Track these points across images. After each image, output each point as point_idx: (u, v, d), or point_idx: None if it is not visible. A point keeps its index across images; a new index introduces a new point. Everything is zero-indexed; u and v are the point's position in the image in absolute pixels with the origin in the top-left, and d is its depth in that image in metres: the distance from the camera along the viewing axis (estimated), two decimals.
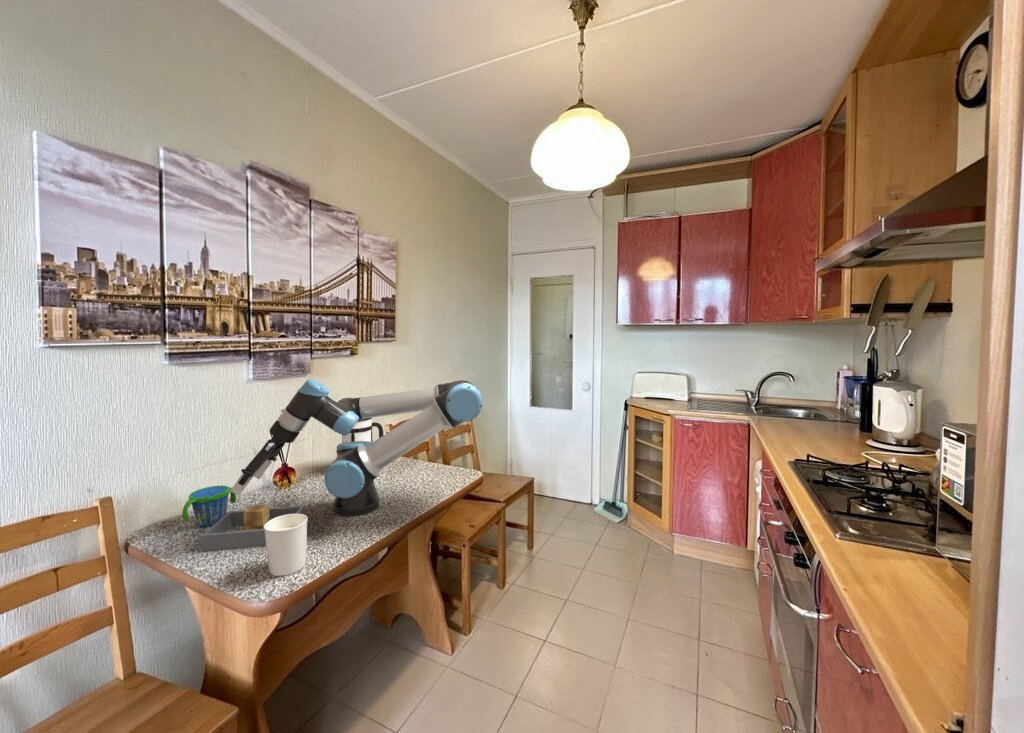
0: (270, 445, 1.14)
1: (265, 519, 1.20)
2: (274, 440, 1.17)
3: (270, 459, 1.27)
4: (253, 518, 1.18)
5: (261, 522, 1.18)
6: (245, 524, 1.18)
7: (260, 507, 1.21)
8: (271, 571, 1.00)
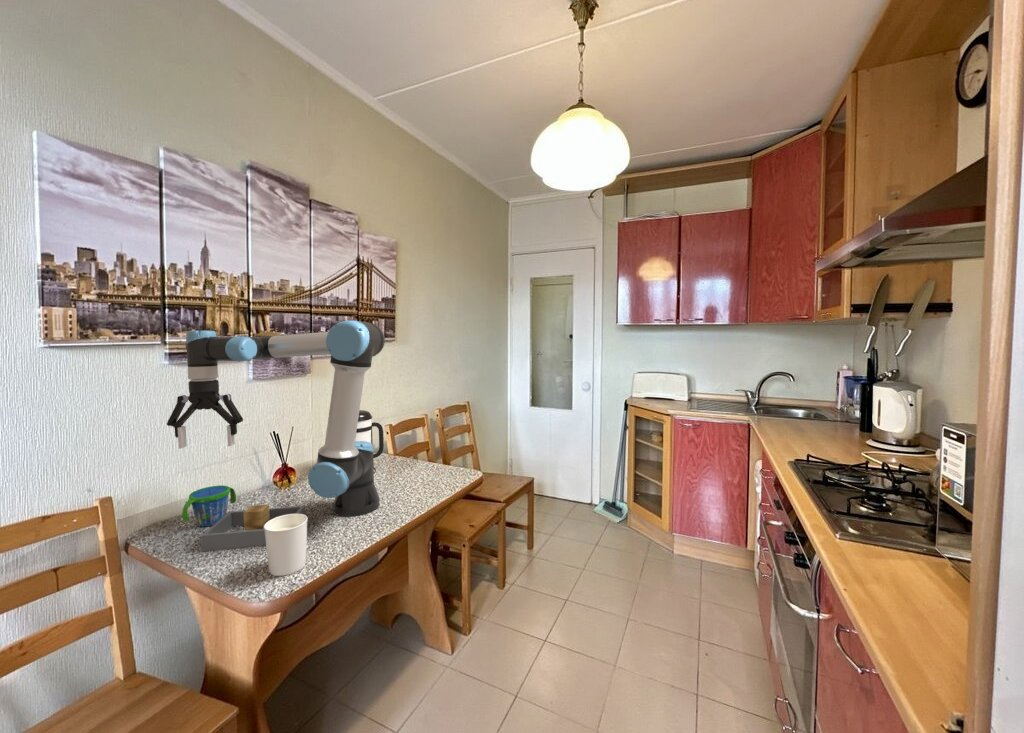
0: None
1: (265, 519, 1.20)
2: None
3: None
4: (252, 518, 1.18)
5: (261, 522, 1.18)
6: (245, 524, 1.18)
7: (260, 507, 1.21)
8: (271, 571, 1.00)
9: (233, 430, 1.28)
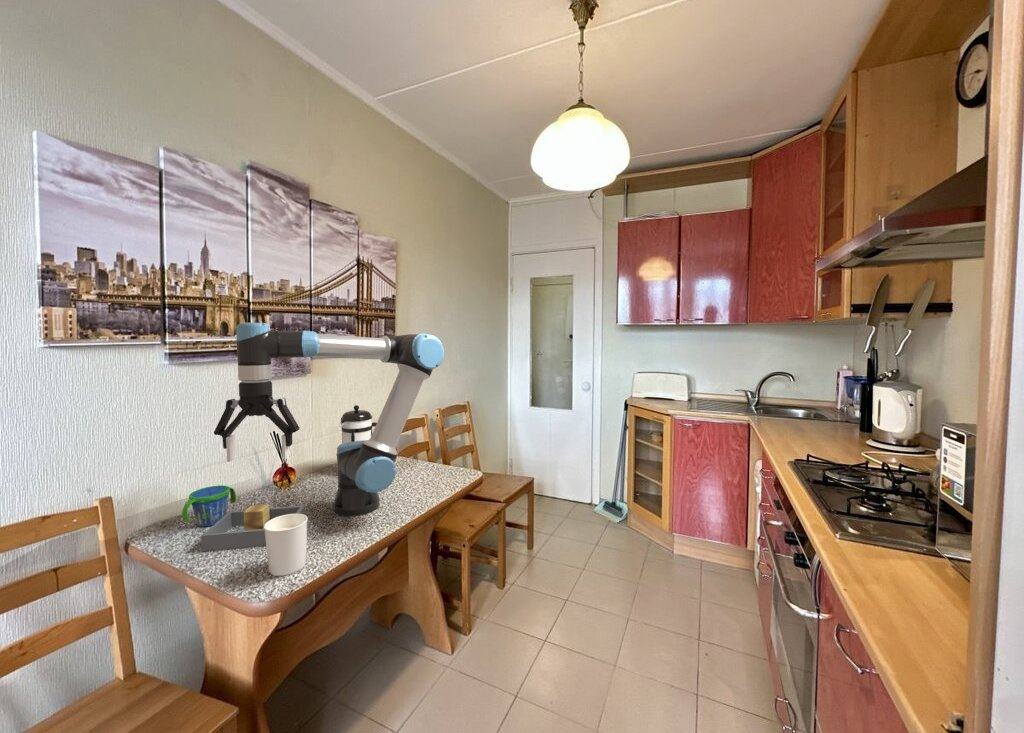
0: None
1: (265, 519, 1.20)
2: None
3: (285, 433, 1.08)
4: (253, 518, 1.18)
5: (261, 522, 1.18)
6: (245, 524, 1.18)
7: (260, 507, 1.21)
8: (271, 571, 1.00)
9: (288, 441, 1.08)
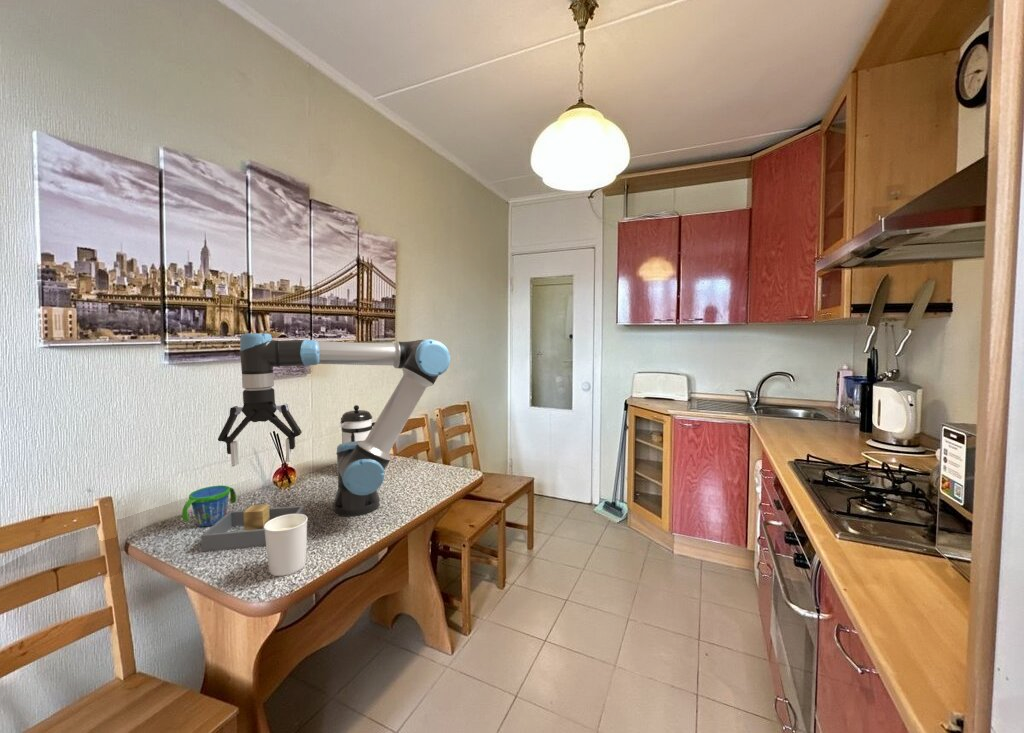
0: None
1: (265, 519, 1.20)
2: None
3: (288, 437, 1.14)
4: (253, 518, 1.18)
5: (261, 522, 1.18)
6: (245, 524, 1.18)
7: (260, 507, 1.21)
8: (271, 571, 1.00)
9: (292, 444, 1.15)
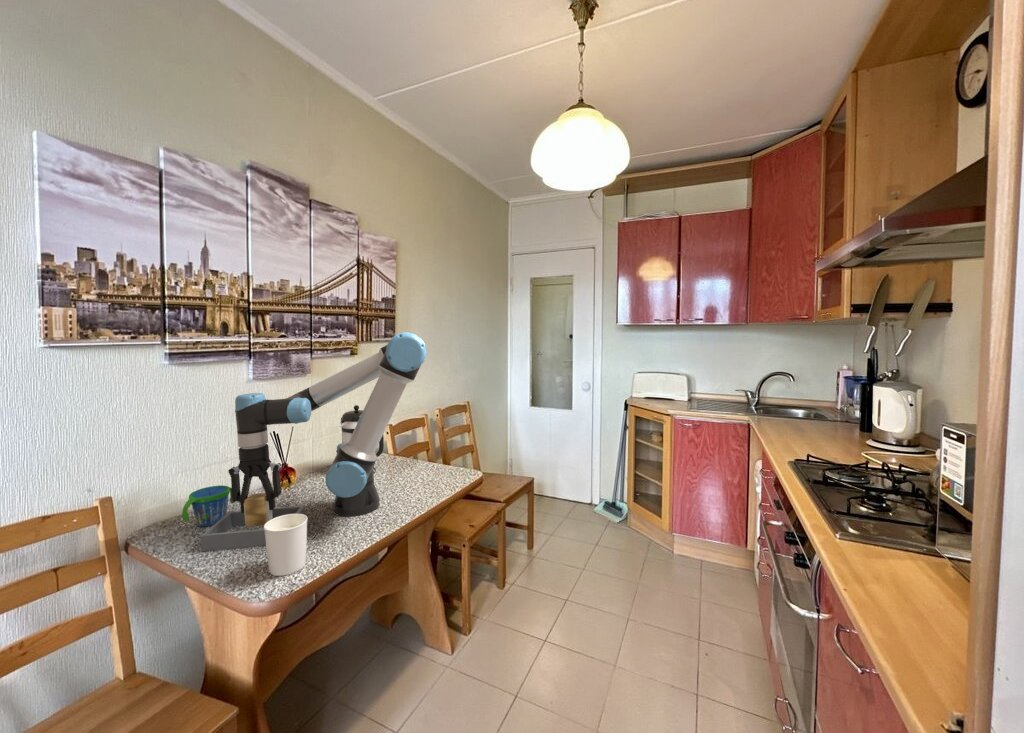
0: None
1: None
2: None
3: (268, 498, 1.20)
4: (254, 506, 1.18)
5: (262, 510, 1.18)
6: (247, 512, 1.17)
7: (261, 495, 1.21)
8: (271, 571, 1.00)
9: (271, 505, 1.20)
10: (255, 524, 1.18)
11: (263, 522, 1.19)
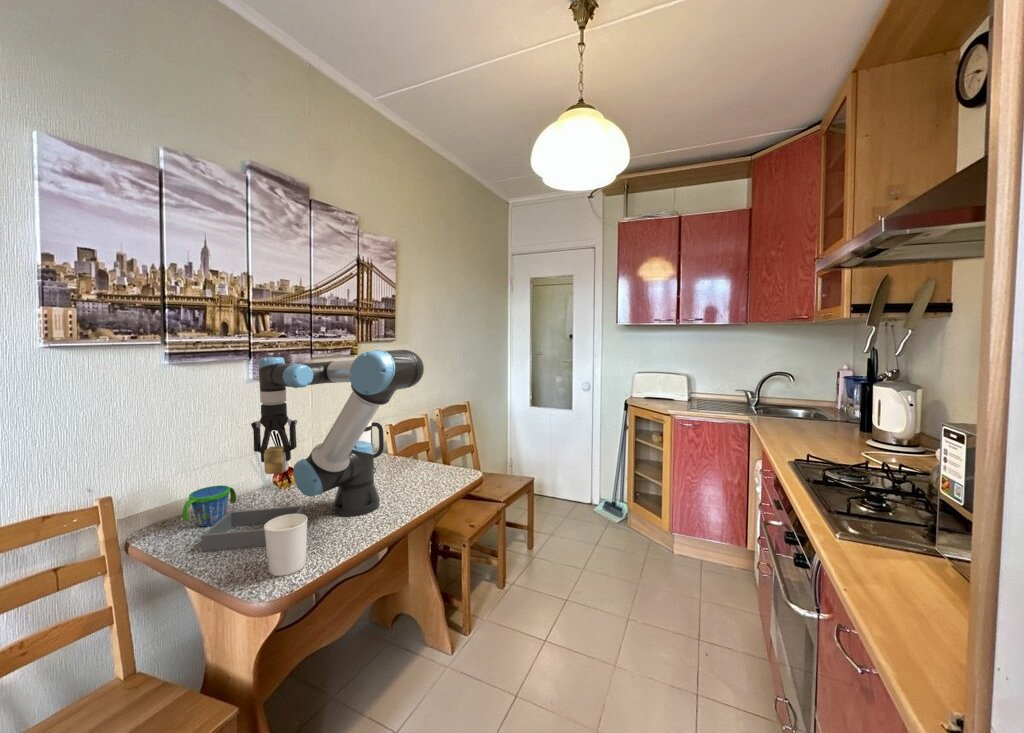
0: None
1: None
2: None
3: (285, 450, 1.36)
4: (272, 456, 1.34)
5: (280, 460, 1.34)
6: (266, 461, 1.33)
7: (278, 447, 1.36)
8: (271, 571, 1.00)
9: (288, 456, 1.36)
10: (273, 472, 1.34)
11: (280, 470, 1.34)
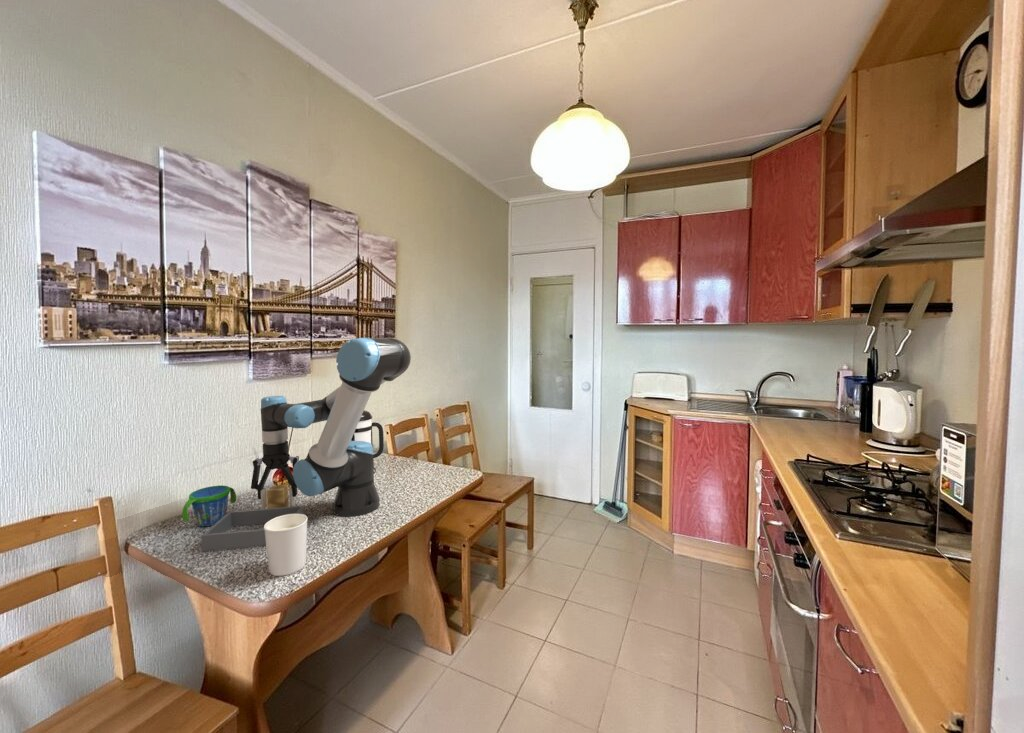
0: None
1: (285, 497, 1.37)
2: None
3: None
4: (274, 496, 1.34)
5: (282, 499, 1.35)
6: (268, 501, 1.34)
7: (280, 487, 1.37)
8: (271, 571, 1.00)
9: (294, 492, 1.37)
10: None
11: None
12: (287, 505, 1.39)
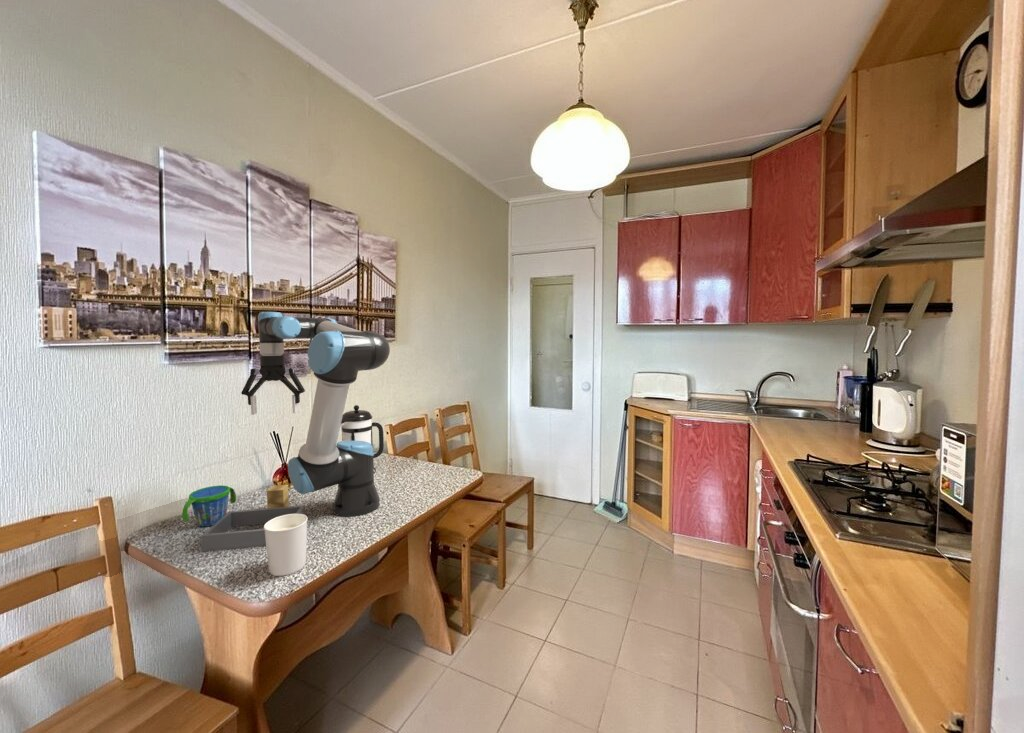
0: None
1: (285, 497, 1.37)
2: None
3: None
4: (274, 496, 1.34)
5: (282, 499, 1.35)
6: (268, 501, 1.34)
7: (280, 487, 1.37)
8: (271, 571, 1.00)
9: (297, 399, 1.47)
10: None
11: None
12: (287, 505, 1.39)
